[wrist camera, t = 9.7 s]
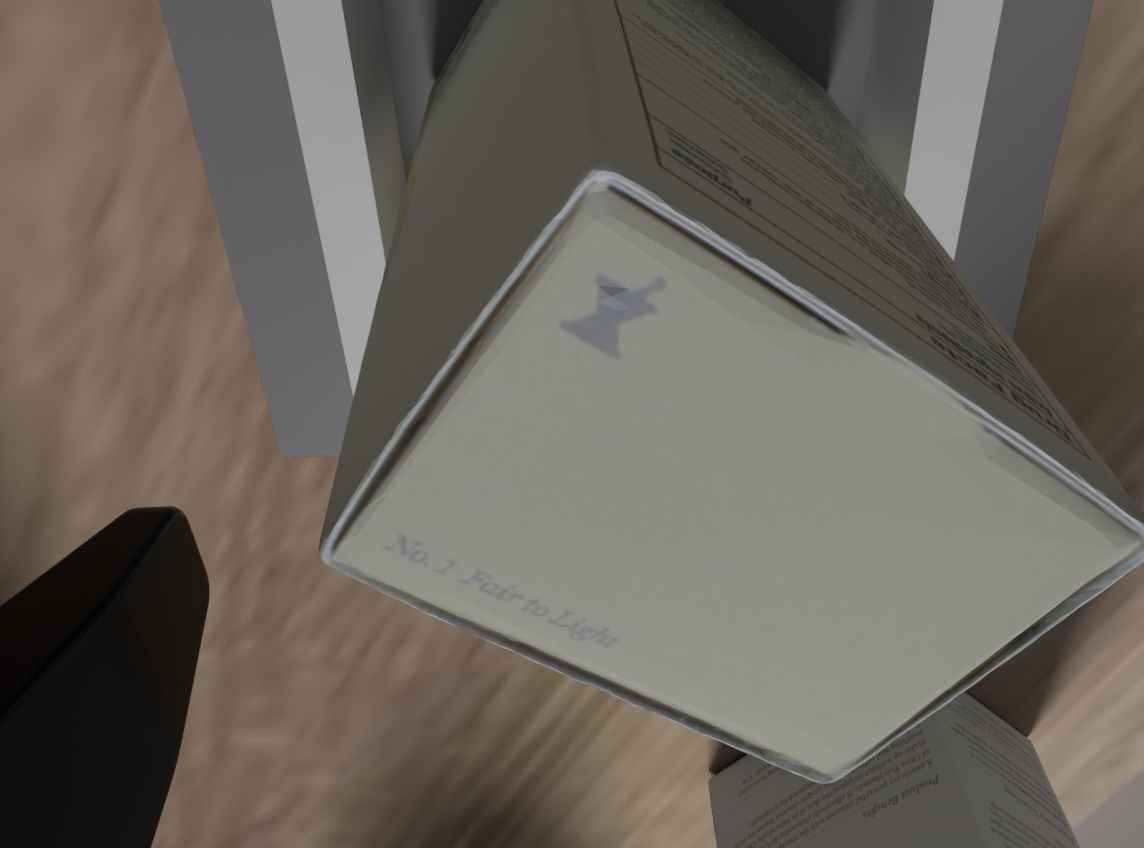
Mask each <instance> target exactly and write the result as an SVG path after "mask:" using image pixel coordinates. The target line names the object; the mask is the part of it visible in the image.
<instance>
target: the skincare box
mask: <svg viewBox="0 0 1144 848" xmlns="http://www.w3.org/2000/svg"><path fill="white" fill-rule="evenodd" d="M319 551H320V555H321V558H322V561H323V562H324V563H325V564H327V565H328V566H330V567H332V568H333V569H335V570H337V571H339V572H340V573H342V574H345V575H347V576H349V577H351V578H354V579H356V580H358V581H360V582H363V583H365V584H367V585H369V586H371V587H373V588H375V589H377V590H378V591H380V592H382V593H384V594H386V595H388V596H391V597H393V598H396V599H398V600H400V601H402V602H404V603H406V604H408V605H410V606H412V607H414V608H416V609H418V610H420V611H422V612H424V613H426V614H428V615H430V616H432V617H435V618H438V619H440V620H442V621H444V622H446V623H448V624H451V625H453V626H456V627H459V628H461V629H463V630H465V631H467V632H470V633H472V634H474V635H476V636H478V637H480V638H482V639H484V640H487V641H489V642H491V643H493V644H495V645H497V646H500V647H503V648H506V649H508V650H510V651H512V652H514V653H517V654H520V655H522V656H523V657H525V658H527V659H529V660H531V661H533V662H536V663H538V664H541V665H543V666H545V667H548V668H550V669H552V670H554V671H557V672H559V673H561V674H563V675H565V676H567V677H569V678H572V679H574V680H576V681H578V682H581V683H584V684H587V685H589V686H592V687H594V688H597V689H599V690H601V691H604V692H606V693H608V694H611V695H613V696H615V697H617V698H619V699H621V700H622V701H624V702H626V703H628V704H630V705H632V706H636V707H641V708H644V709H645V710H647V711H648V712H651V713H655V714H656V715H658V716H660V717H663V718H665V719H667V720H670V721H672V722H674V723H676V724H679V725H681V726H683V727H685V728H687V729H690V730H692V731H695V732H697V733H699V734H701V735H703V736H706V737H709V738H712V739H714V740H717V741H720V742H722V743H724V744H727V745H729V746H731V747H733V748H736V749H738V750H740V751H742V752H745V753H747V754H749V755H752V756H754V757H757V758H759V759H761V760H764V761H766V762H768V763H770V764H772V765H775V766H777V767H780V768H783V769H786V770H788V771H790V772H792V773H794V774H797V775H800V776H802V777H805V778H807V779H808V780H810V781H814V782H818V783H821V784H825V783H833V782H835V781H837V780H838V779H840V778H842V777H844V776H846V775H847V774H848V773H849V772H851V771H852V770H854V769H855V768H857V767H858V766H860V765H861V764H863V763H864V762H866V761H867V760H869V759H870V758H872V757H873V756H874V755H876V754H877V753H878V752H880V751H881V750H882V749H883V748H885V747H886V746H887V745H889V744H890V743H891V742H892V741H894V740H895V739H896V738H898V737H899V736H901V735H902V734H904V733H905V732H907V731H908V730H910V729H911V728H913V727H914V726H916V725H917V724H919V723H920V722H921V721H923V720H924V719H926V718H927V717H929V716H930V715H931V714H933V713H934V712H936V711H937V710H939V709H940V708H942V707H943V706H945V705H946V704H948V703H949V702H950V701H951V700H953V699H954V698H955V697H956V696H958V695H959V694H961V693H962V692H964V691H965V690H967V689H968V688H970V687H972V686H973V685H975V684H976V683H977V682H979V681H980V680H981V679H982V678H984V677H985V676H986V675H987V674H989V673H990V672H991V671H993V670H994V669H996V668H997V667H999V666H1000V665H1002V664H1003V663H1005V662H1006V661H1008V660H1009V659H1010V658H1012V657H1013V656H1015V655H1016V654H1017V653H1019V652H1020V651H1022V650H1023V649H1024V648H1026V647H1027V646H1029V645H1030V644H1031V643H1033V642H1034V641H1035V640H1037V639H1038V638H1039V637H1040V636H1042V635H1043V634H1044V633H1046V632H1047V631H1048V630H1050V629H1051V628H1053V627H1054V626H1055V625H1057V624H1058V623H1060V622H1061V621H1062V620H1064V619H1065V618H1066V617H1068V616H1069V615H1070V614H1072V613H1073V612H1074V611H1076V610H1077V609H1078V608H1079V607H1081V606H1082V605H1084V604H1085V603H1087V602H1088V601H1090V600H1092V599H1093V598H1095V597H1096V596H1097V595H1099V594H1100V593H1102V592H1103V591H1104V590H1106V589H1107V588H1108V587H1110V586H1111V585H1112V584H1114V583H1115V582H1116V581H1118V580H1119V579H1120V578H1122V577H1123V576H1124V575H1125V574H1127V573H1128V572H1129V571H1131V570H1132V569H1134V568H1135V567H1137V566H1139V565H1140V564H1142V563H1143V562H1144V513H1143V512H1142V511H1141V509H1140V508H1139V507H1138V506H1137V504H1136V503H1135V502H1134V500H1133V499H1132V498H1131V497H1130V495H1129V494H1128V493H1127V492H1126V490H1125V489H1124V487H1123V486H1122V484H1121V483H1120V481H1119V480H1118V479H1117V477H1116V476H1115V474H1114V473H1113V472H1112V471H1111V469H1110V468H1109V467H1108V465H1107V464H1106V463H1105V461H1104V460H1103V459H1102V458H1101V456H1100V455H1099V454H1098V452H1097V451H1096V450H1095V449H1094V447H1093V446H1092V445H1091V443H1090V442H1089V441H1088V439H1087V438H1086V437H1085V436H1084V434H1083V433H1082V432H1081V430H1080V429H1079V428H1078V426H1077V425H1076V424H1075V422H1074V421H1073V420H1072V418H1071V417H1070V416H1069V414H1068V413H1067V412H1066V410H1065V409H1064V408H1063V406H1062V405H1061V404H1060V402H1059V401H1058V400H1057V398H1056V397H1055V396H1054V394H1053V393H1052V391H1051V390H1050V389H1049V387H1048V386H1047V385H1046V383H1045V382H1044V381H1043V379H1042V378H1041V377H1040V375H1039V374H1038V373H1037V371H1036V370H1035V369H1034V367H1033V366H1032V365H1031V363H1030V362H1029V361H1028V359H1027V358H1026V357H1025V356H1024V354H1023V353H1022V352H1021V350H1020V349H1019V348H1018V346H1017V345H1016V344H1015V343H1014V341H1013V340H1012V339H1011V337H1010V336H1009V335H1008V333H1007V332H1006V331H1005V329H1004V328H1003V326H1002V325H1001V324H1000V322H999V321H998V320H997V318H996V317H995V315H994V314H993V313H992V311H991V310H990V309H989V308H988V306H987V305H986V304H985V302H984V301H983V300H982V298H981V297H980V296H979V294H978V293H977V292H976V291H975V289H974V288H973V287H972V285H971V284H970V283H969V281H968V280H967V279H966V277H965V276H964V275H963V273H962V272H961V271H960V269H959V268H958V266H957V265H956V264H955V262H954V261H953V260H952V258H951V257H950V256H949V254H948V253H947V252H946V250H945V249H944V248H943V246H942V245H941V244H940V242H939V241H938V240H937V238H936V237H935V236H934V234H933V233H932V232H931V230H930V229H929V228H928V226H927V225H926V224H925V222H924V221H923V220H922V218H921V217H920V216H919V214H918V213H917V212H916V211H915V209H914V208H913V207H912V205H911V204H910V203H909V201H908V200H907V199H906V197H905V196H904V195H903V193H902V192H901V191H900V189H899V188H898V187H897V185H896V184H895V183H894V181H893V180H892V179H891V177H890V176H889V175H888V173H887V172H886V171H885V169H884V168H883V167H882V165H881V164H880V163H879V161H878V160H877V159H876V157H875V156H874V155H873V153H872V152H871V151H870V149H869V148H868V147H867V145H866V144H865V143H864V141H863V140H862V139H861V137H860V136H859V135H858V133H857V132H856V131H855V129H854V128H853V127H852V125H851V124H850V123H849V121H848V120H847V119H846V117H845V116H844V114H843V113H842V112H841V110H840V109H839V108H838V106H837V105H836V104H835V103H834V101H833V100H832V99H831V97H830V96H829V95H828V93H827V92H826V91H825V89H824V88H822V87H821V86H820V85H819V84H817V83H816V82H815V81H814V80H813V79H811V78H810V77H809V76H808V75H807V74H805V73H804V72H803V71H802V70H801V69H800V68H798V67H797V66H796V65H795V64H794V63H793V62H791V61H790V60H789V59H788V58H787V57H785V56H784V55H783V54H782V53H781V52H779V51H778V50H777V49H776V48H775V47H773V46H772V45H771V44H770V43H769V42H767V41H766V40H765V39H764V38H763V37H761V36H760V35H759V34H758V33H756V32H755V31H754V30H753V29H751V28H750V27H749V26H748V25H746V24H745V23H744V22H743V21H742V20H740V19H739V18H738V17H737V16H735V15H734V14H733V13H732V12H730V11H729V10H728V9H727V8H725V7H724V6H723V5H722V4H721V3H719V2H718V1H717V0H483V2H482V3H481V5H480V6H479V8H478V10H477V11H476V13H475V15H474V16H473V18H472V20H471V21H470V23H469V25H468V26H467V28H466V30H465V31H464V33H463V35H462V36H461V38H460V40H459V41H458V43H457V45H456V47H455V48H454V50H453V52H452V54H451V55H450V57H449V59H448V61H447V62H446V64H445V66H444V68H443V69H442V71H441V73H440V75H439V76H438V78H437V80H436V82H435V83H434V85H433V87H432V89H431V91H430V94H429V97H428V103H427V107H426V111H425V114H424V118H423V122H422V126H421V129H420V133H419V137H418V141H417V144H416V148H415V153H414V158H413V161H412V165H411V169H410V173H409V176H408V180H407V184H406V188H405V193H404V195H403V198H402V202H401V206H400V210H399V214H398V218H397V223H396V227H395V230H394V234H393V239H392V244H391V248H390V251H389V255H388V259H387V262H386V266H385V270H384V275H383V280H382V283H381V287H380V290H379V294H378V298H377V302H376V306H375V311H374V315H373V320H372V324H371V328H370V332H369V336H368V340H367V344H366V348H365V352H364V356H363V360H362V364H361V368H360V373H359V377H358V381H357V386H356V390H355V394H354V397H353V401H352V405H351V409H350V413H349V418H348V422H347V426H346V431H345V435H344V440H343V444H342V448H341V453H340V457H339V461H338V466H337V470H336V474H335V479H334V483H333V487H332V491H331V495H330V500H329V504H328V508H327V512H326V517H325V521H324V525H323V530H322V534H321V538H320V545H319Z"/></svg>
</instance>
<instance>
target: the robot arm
mask: <svg viewBox="0 0 1144 848" xmlns="http://www.w3.org/2000/svg"><path fill="white" fill-rule="evenodd" d="M208 604H209V581H208V576H207V572H206V569H205V567H204V564H203V561H202V558H201V555H200V553H199V550H198V547H197V544H196V541H195V538H194V536H193V533H192V530H191V527H190V524H189V522H188V519H187V517H186V515H185V514H184V513H183V512H182V510H180V509H178V508H176V507H172V506H168V507H143V508H134V509H130V510H128V511H126V512H125V513H123V514H122V515H120V516H119V517H118V518H116V519H115V520H114V521H112V522H111V523H110V524H108V525H107V526H106V527H105V528H103V529H102V530H101V531H99V532H98V533H97V534H95V535H94V536H93V537H91V538H90V539H89V540H87V541H86V542H85V543H83V544H82V545H81V546H79V547H78V548H77V549H75V550H74V551H73V552H71V553H70V554H69V555H67V556H66V557H65V558H63V559H62V560H61V561H59V562H58V563H57V564H55V565H54V566H53V567H51V568H50V569H49V570H48V571H46V572H45V573H44V574H42V575H41V576H40V577H38V578H37V579H36V580H34V581H33V582H32V583H30V584H29V585H28V586H26V587H25V588H24V589H22V590H21V591H20V592H18V593H17V594H16V595H14V596H13V597H12V598H10V599H9V600H8V601H6V602H5V603H4V604H2V605H1V606H0V848H151V845H152V842H153V839H154V836H155V833H156V830H157V826H158V823H159V820H160V817H161V814H162V811H163V808H164V804H165V801H166V798H167V795H168V792H169V789H170V785H171V782H172V778H173V775H174V771H175V768H176V764H177V760H178V756H179V751H180V747H181V742H182V738H183V733H184V728H185V723H186V718H187V712H188V707H189V702H190V697H191V692H192V687H193V682H194V676H195V671H196V666H197V661H198V656H199V651H200V646H201V640H202V635H203V630H204V625H205V620H206V615H207V609H208Z"/></svg>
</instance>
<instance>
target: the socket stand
mask: <svg viewBox="0 0 1144 848" xmlns="http://www.w3.org/2000/svg"><path fill="white" fill-rule="evenodd" d="M717 1H718V2H719V3H721V4H722V5H723V6H724V7H725V8H727V9H728V10H729V11H730V12H732V13H733V14H734V15H735V16H737V17H738V18H739V19H740V20H742V21H743V22H744V23H745V24H746V25H748V26H749V27H750V28H751V29H753V30H754V31H755V32H756V33H758V34H759V35H760V36H761V37H763V38H764V39H765V40H766V41H767V42H769V43H770V44H771V45H772V46H773V47H775V48H776V49H777V50H778V51H779V52H781V53H782V54H783V55H784V56H785V57H787V58H788V59H789V60H790V61H791V62H793V63H794V64H795V65H796V66H797V67H798V68H800V69H801V70H802V71H803V72H804V73H805V74H807V75H808V76H809V77H810V78H811V79H813V80H814V81H815V82H816V83H817V84H819V85H820V86H821V87H822V88H824V89H825V91H826V92H827V93H828V95H829V96H830V97H831V99H832V100H833V101H834V103H835V104H836V105H837V106H838V108H839V109H840V110H841V112H842V113H843V114H844V116H845V117H846V119H847V120H848V121H849V123H850V124H851V125H852V127H853V128H854V129H855V131H856V132H857V133H858V135H859V136H860V137H861V139H862V140H863V141H864V143H865V144H866V145H867V147H868V148H869V149H870V151H871V152H872V153H873V155H874V156H875V157H876V159H877V160H878V161H879V163H880V164H881V165H882V167H883V168H884V169H885V171H886V172H887V173H888V175H889V176H890V177H891V179H892V180H893V181H894V183H895V184H896V185H897V187H898V188H899V189H900V191H901V192H902V193H903V195H904V196H905V197H906V199H907V200H908V201H909V203H910V204H911V205H912V207H913V208H914V209H915V211H916V212H917V213H918V214H919V216H920V217H921V218H922V220H923V221H924V222H925V224H926V225H927V226H928V228H929V229H930V230H931V232H932V233H933V234H934V236H935V237H936V238H937V240H938V241H939V242H940V244H941V245H942V246H943V248H944V249H945V250H946V252H947V253H948V254H949V256H950V257H951V258H952V260H953V261H954V262H955V264H956V265H957V266H958V268H959V269H960V271H961V272H962V273H963V275H964V276H965V277H966V279H967V280H968V281H969V283H970V284H971V285H972V287H973V288H974V289H975V291H976V292H977V293H978V294H979V296H980V297H981V298H982V300H983V301H984V302H985V304H986V305H987V306H988V308H989V309H990V310H991V311H992V313H993V314H994V315H995V317H996V318H997V320H998V321H999V322H1000V324H1001V325H1002V326H1003V328H1004V329H1005V331H1006V332H1007V333H1008V335H1009V336H1010V337H1011V339H1012V338H1013V334H1014V330H1015V326H1016V321H1017V317H1018V313H1019V309H1020V305H1021V301H1022V296H1023V292H1024V288H1025V284H1026V280H1027V276H1028V271H1029V267H1030V263H1031V259H1032V255H1033V251H1034V246H1035V242H1036V238H1037V234H1038V230H1039V226H1040V221H1041V217H1042V213H1043V209H1044V205H1045V201H1046V196H1047V192H1048V188H1049V184H1050V180H1051V176H1052V171H1053V167H1054V163H1055V159H1056V155H1057V151H1058V146H1059V142H1060V138H1061V134H1062V130H1063V126H1064V121H1065V117H1066V113H1067V109H1068V105H1069V101H1070V96H1071V92H1072V88H1073V84H1074V80H1075V76H1076V71H1077V67H1078V63H1079V59H1080V55H1081V51H1082V46H1083V42H1084V38H1085V34H1086V30H1087V26H1088V21H1089V17H1090V13H1091V9H1092V5H1093V1H1094V0H717ZM159 2H160V6H161V10H162V13H163V17H164V21H165V25H166V28H167V32H168V36H169V40H170V43H171V47H172V51H173V54H174V58H175V62H176V66H177V69H178V73H179V77H180V81H181V84H182V88H183V92H184V95H185V99H186V103H187V107H188V110H189V114H190V118H191V122H192V125H193V129H194V133H195V136H196V140H197V144H198V148H199V151H200V155H201V159H202V162H203V166H204V170H205V174H206V177H207V181H208V185H209V189H210V192H211V196H212V200H213V203H214V207H215V211H216V215H217V218H218V222H219V226H220V230H221V233H222V237H223V241H224V244H225V248H226V252H227V256H228V259H229V263H230V267H231V271H232V274H233V278H234V282H235V285H236V289H237V293H238V297H239V300H240V304H241V308H242V312H243V315H244V319H245V323H246V326H247V330H248V334H249V338H250V341H251V345H252V349H253V353H254V356H255V360H256V364H257V367H258V371H259V375H260V379H261V382H262V386H263V390H264V394H265V397H266V401H267V405H268V408H269V412H270V416H271V420H272V423H273V427H274V431H275V435H276V438H277V442H278V446H279V449H280V453H281V457H282V458H288V457H312V456H336V455H340V453H341V448H342V444H343V440H344V435H345V431H346V426H347V422H348V418H349V413H350V409H351V405H352V401H353V397H354V394H355V390H356V386H357V381H358V377H359V373H360V368H361V364H362V360H363V356H364V352H365V348H366V344H367V340H368V336H369V332H370V328H371V324H372V320H373V315H374V311H375V306H376V302H377V298H378V294H379V290H380V287H381V283H382V280H383V275H384V270H385V266H386V262H387V259H388V255H389V251H390V248H391V244H392V239H393V234H394V230H395V227H396V223H397V218H398V214H399V210H400V206H401V202H402V198H403V195H404V193H405V188H406V184H407V180H408V176H409V173H410V169H411V165H412V161H413V158H414V153H415V148H416V144H417V141H418V137H419V133H420V129H421V126H422V122H423V118H424V114H425V111H426V107H427V103H428V97H429V94H430V91H431V89H432V87H433V85H434V83H435V82H436V80H437V78H438V76H439V75H440V73H441V71H442V69H443V68H444V66H445V64H446V62H447V61H448V59H449V57H450V55H451V54H452V52H453V50H454V48H455V47H456V45H457V43H458V41H459V40H460V38H461V36H462V35H463V33H464V31H465V30H466V28H467V26H468V25H469V23H470V21H471V20H472V18H473V16H474V15H475V13H476V11H477V10H478V8H479V6H480V5H481V3H482V2H483V0H159Z"/></svg>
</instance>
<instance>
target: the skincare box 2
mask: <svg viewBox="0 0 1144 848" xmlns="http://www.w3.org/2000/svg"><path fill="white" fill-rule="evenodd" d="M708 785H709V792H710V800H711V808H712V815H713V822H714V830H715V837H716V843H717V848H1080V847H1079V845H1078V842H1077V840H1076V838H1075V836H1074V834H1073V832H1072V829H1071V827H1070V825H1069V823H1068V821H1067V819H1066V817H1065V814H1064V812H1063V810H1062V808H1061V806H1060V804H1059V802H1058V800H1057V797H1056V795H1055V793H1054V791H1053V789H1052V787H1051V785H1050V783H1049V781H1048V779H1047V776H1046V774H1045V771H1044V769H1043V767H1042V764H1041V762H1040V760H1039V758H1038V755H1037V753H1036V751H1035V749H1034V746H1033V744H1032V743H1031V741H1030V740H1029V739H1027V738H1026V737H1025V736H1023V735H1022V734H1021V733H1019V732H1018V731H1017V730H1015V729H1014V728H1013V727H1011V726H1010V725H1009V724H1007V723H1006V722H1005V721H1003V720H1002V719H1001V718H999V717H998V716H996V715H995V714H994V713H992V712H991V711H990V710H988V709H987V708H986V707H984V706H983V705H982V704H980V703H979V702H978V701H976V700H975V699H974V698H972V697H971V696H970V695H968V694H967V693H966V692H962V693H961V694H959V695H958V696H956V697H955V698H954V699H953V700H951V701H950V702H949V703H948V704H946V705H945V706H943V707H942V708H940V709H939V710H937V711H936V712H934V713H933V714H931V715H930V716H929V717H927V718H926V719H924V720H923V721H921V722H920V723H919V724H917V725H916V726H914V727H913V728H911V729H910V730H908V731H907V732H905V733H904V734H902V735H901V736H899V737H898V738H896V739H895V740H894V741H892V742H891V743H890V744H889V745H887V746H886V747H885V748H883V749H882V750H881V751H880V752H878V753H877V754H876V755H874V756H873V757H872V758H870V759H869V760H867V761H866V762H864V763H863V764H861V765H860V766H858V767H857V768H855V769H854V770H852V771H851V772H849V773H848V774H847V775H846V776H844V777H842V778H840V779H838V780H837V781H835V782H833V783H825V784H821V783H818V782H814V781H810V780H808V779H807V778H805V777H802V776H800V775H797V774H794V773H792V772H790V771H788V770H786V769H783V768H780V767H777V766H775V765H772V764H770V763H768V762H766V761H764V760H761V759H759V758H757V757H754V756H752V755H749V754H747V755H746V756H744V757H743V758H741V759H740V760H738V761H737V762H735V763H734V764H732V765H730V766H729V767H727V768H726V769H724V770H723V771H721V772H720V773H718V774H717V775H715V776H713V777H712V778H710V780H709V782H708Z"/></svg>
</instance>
